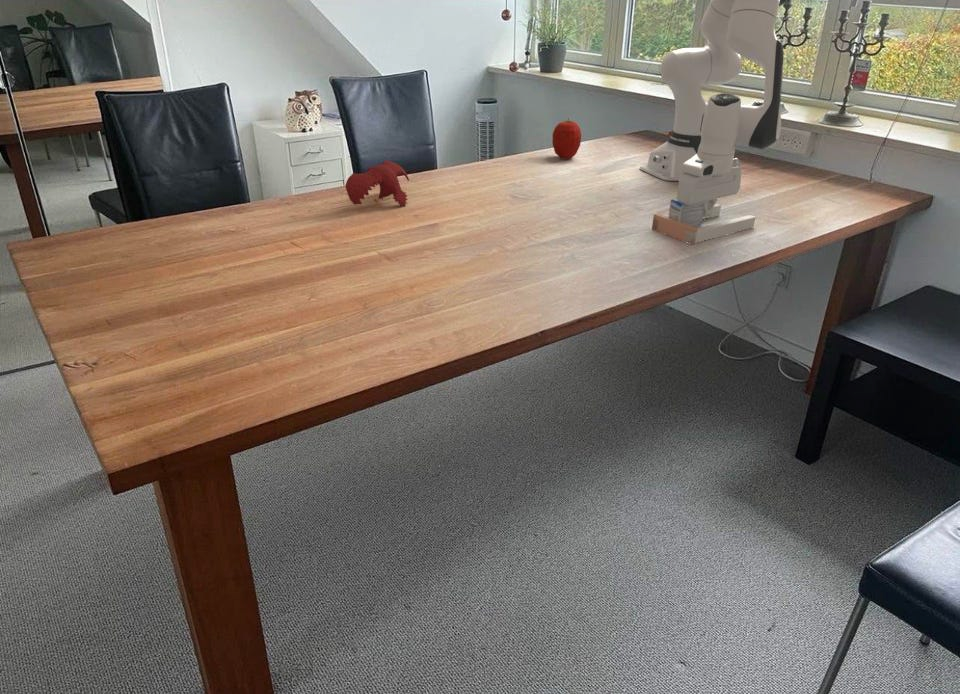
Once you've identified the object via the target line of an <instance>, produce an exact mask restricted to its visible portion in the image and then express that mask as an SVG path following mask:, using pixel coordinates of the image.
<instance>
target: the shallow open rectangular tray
mask: <svg viewBox="0 0 960 694" xmlns="http://www.w3.org/2000/svg"><path fill="white" fill-rule="evenodd" d="M721 209H722V204H719V203H716V204H715V205H714V207H713V209H712V212H711V215H709V216H705V217H703V216H702V219H704V220H706V219H705V218H708V219H710V218H709V217H712V218H714V217H713V216H716V217H719V216H720V213H721ZM718 215H719V216H718ZM668 216H669V213H668V214H661V213H658V212H656V213H653V218H652V225H651V230H653V231H656V230H657V231H656V232H659V233H661V234H664V233H665V234H664V235H666V234H667V235H666V236H668V235H670V236H669V237H671V236H672V237H671V238H673V237H675V238H674V239H676V238H677V239H676V240H678V239H680V240H679V241H681V240H683V241H685V242H684V243H686V242H688V243H690V244H689V245H694V244H693V243H695V244H698V243H697V242H699V243H702V242H705V241H704V240H706V241H709V240H708V239H710V240H713V239H712V238H714V239H716V237H717V238H721V237H724V236H723V235H725V236H727V235H726V234H728V235H731V234H730V233H732V234H734V233H733V232H736V233H738V232H737V231H740V232H742V231H741V230H743V231H745V230H744V229H747V230H749V229H748V228H751V229H753V228H752V227H755V224H756V223H755V221H756V216H754V215H751V214H748V215H743V216H739V217H736V218H735V217H734V218H733V219H732V218H731V219H728V220H724V221H720V222H715V223H712V224H708V225H704V226H701V227H699V228H696V227H693V226H691V225H688V224H685V223H683V222H680V221H677V220H675V219H672V218H669V217H668ZM720 236H721V237H720ZM683 241H682V242H683ZM701 241H702V242H701ZM688 243H687V244H688Z"/></svg>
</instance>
